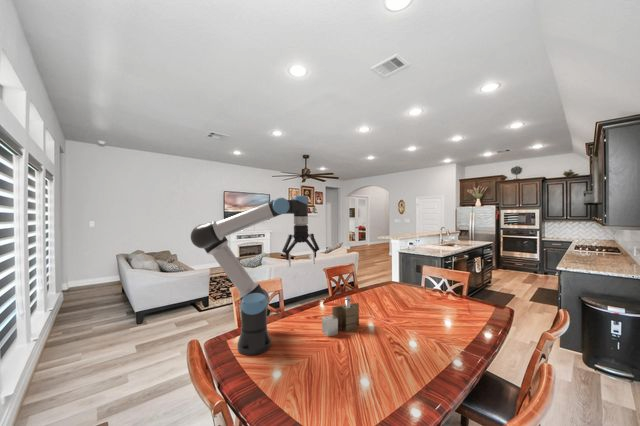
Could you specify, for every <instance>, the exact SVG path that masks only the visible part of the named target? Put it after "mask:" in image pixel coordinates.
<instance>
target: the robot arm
mask: <svg viewBox="0 0 640 426" xmlns="http://www.w3.org/2000/svg"><path fill="white" fill-rule="evenodd" d="M308 203H309V201H308V196H306V195H294V196H293V198H292V199H286V198H285V197H278V198H276V199H271V200H270V201H269V202H266V203H263V204H261V205H258V206H256V207H253V208H250V209H248V210H245V211H242V212H240V213H237V214H235V215H232V216H229V217H226V218H224V219H221V220H218V221H216V220H212V221H210V222H207V223H202V224H198V225H197V226H195V227H193V229H192V230H191V233H190V241H191V243H192V244H193V245H194V246H195V247H197V248H199V249H203V250H204V251H205V252H206V254H208V255H211V256H213V258H214V260H216V262H217V264H218V265H219V266H220V267H221V269H222V270H223V272H224V273H225V275H226V276H227V277H228V278H229V281H230V282H231V283H232V284H233V285H234V287H235V288H236V290H237V291H238V293H239V296H238V297H239V298H238V299H239V300H240V301H241V302H240V319H241V321H240V322H241V325H240V328H241V331H240V332H241V333H240V336H239V339H238V341H237V351H238V353H240V354H242V355H245V356H254V355H260V354H263V353H265V352H266V351H268V350H270V348H271V346H272V340H271V339H272V338H271V337H270V334H269V330H268V309H269V305H270V296H269V293H268V291H267V290H266V289H264V288H263V287H262V286H261V285H260V284H259V282H255V281H254V280H253V279H252V278H251V276H250V275H249V273H248V271H247V270H246V269H245V267H244V266H243V265H242V263H241V262H240V260H239V259H238V258H237V256H236V255H235V254H234V252H233V251H232V249H231V248H230V246H229V245H228V243H229V240H228V239H227V237H228V236H230V235H232V234H235V233H237V232H241V231H243V230H245V229H247V228H250V227H252V226H255V225H258V224H260V223H264V222H265V221H268V220H271V219H273V218H275V217H278V216H281V215H285V214H286V215H288V214H289V215H291V214H292V215H293V234H287V239H286V242H285V243H284V246H283V248H282V251H281V252H282V253H284V254H285V260H286V261H287V266H288V267H289V268H290V267H292V266H291V261H292V260H291V251H292V250H293V249H294V248H295V246H296V245H297V244H300V243H305V244H307V245H308V247H309V248H310V249H311V256H310V257H311V265H315V263H316V261H315V260H316V258H317V252H318V251H320V246H319V245H318V242H317V241H316V239H315V234H314V233H312V232H311V233H309V226H308V224H309V221H308V220H309V216H308V215H309V204H308ZM309 238H310V240H311V241H310V240H309ZM292 239H293V241H292ZM291 241H292V242H291ZM311 242H312V243H311Z"/></svg>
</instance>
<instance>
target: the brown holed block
mask: <svg viewBox="0 0 640 426" xmlns="http://www.w3.org/2000/svg"><path fill="white" fill-rule="evenodd" d="M359 304H360V303H359V302H353V303H350V308H346V304H343V305H342V304H341V305H340V306H341V313H342V314H343V315H345V316H351V315H356V323H352V324H348V325H346V324H345V323H343V322H342V321H341V329H340V330H343V332H345V333H349V332H354V331H357V326H360V305H359Z"/></svg>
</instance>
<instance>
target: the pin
mask: <svg viewBox="0 0 640 426" xmlns="http://www.w3.org/2000/svg"><path fill="white" fill-rule="evenodd" d="M344 300H345V305H346V308H350V304H351V300H352V297H351V296H345V297H344Z"/></svg>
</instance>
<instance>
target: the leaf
mask: <svg viewBox="0 0 640 426" xmlns="http://www.w3.org/2000/svg"><path fill="white" fill-rule="evenodd" d="M331 311H332V312H331V314H329V315H328V314H327V315H324V316H321V324H322V326H321V329H322V330H321V331H322V333H323V334H324V335H325V336H326V337H328V338H329V337H331V336H336V335H337V336H338V335H339V330H342V329H341V321H342V322H343V323H345V324H346V325H348V324H352V323H356V315H351V316H345V315H343V314H342V313H341V305H335V306H332V307H331Z"/></svg>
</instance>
